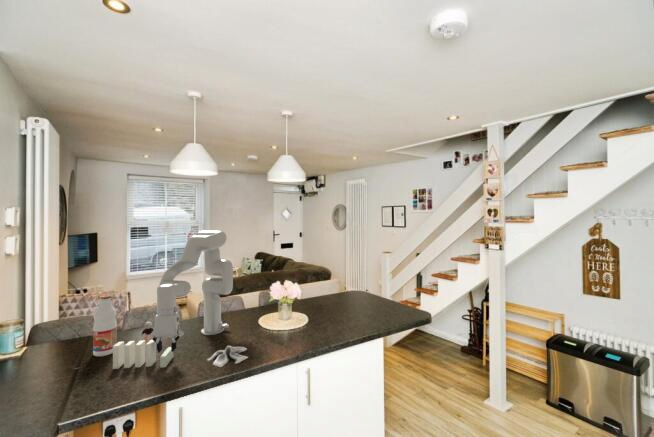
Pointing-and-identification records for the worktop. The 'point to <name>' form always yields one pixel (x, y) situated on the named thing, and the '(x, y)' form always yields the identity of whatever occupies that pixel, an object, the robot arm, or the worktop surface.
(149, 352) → the domino
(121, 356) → the domino
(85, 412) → the worktop surface
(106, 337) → the fruit juice
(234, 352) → the cloth
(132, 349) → the domino
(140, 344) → the domino
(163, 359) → the domino
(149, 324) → the grandmother figurine
